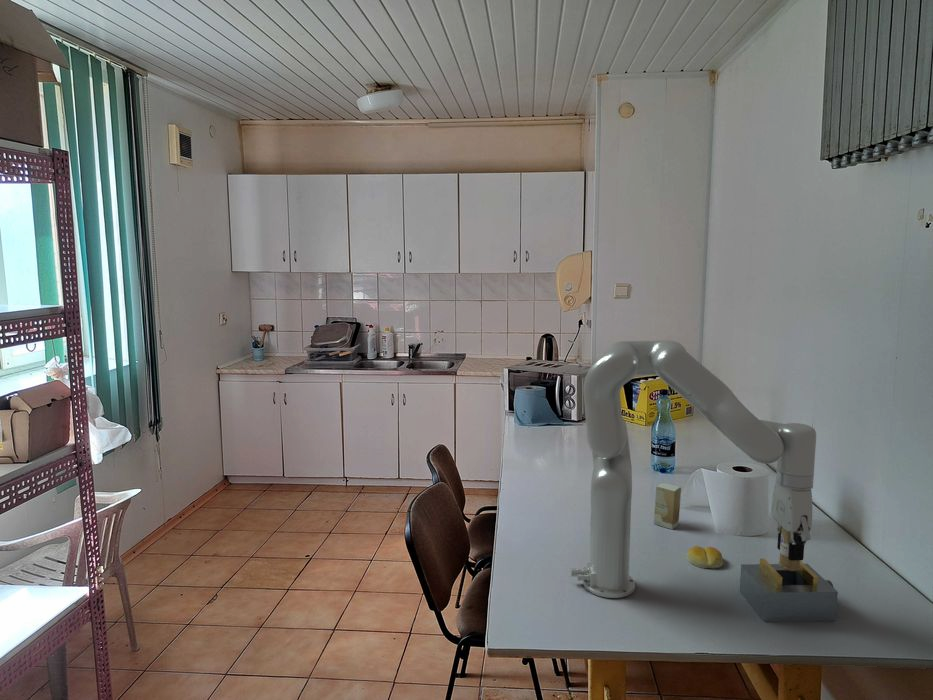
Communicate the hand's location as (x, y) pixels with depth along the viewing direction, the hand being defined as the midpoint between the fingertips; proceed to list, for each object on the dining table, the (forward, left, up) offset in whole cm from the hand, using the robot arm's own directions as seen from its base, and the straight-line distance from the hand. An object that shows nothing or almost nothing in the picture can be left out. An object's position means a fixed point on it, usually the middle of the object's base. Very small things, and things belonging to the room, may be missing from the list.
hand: (790, 553), depth 151 cm
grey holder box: (0, 0, -13) cm, 13 cm away
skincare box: (-14, +45, -13) cm, 49 cm away
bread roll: (-11, +22, -13) cm, 28 cm away
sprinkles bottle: (0, 0, -4) cm, 4 cm away
